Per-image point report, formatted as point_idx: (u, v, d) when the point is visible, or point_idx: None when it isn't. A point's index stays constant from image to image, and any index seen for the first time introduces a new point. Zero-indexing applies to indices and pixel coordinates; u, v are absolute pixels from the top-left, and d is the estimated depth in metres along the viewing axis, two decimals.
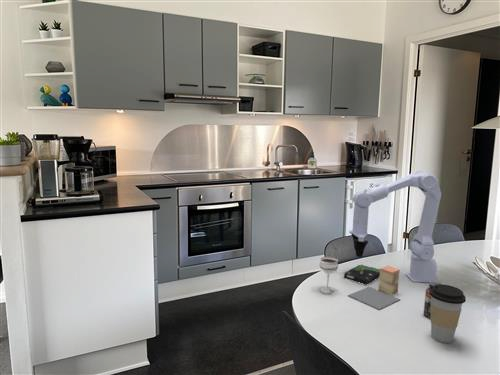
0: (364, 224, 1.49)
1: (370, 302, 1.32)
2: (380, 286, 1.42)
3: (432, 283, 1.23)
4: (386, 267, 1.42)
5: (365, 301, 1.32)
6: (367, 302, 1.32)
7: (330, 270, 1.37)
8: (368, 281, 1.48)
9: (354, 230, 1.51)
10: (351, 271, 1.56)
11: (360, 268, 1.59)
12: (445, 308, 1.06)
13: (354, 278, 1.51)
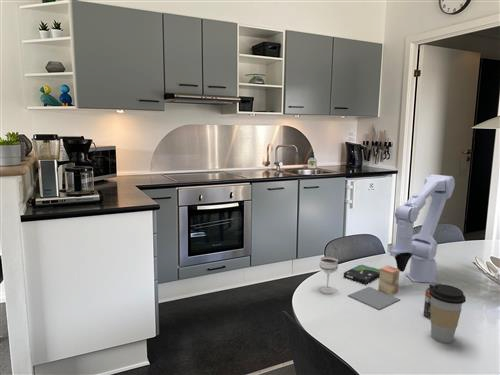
0: (403, 240, 1.41)
1: (370, 302, 1.32)
2: (380, 286, 1.42)
3: (432, 283, 1.23)
4: (386, 267, 1.42)
5: (365, 301, 1.32)
6: (367, 302, 1.32)
7: (330, 270, 1.37)
8: (367, 281, 1.48)
9: (395, 244, 1.45)
10: (351, 271, 1.57)
11: (361, 268, 1.59)
12: (445, 308, 1.06)
13: (353, 278, 1.51)
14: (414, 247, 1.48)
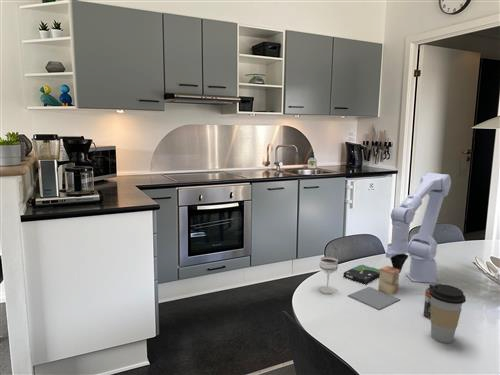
0: (399, 241, 1.40)
1: (370, 302, 1.32)
2: (380, 286, 1.42)
3: (432, 283, 1.23)
4: (386, 267, 1.42)
5: (365, 301, 1.32)
6: (367, 302, 1.32)
7: (330, 270, 1.37)
8: (367, 281, 1.48)
9: (391, 246, 1.43)
10: (351, 271, 1.57)
11: (361, 268, 1.59)
12: (445, 308, 1.06)
13: (353, 278, 1.51)
14: (410, 248, 1.46)
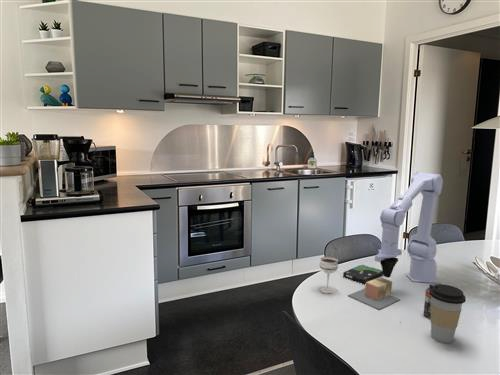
0: (389, 244, 1.35)
1: (370, 302, 1.32)
2: None
3: (432, 283, 1.23)
4: (367, 289, 1.36)
5: (365, 301, 1.32)
6: (367, 302, 1.32)
7: (330, 270, 1.37)
8: (366, 281, 1.48)
9: (381, 249, 1.39)
10: (351, 271, 1.57)
11: (361, 268, 1.59)
12: (445, 308, 1.06)
13: (352, 277, 1.51)
14: (401, 252, 1.42)
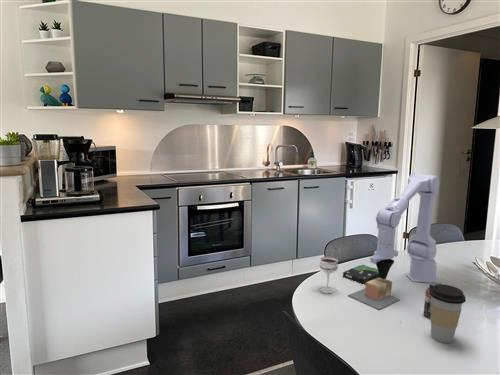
0: (385, 246, 1.34)
1: (370, 302, 1.32)
2: None
3: (432, 283, 1.23)
4: (367, 289, 1.36)
5: (365, 301, 1.32)
6: (367, 302, 1.32)
7: (330, 270, 1.37)
8: (366, 281, 1.48)
9: (376, 251, 1.37)
10: (351, 271, 1.57)
11: (361, 268, 1.59)
12: (445, 308, 1.06)
13: (352, 277, 1.51)
14: (397, 253, 1.40)
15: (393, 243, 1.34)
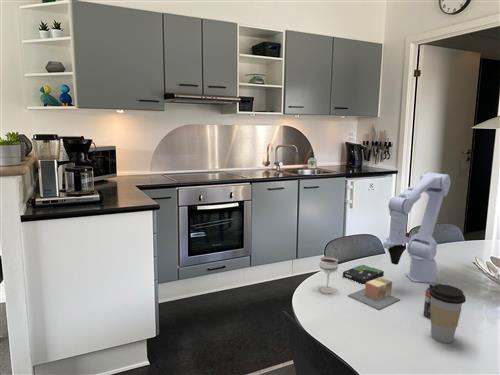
0: (397, 232, 1.38)
1: (370, 302, 1.32)
2: None
3: (432, 283, 1.23)
4: (367, 289, 1.36)
5: (365, 301, 1.32)
6: (367, 302, 1.32)
7: (330, 270, 1.37)
8: (365, 281, 1.48)
9: (389, 237, 1.41)
10: (351, 271, 1.57)
11: (361, 268, 1.59)
12: (445, 308, 1.06)
13: (352, 277, 1.52)
14: (408, 239, 1.44)
15: (405, 229, 1.38)
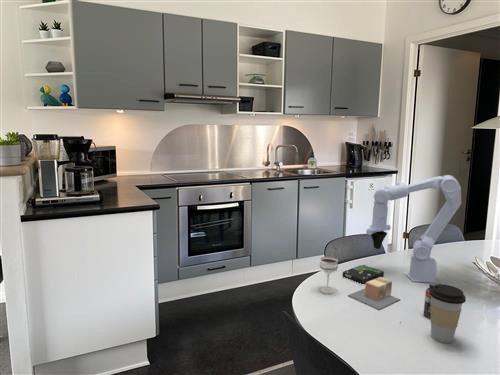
0: (379, 220, 1.56)
1: (370, 302, 1.32)
2: None
3: (432, 283, 1.23)
4: (367, 289, 1.36)
5: (365, 301, 1.32)
6: (367, 302, 1.32)
7: (330, 270, 1.37)
8: (365, 281, 1.48)
9: (372, 224, 1.59)
10: (350, 270, 1.57)
11: (361, 268, 1.59)
12: (445, 308, 1.06)
13: (351, 277, 1.52)
14: (389, 227, 1.62)
15: (380, 217, 1.55)
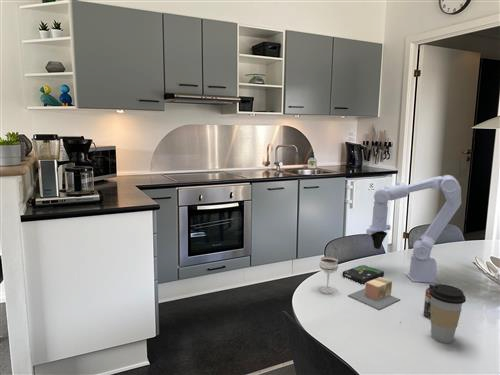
0: (379, 220, 1.56)
1: (370, 302, 1.32)
2: None
3: (432, 283, 1.23)
4: (367, 289, 1.36)
5: (365, 301, 1.32)
6: (367, 302, 1.32)
7: (330, 270, 1.37)
8: (364, 281, 1.48)
9: (372, 224, 1.59)
10: (350, 270, 1.57)
11: (361, 268, 1.59)
12: (445, 308, 1.06)
13: (351, 277, 1.52)
14: (389, 227, 1.62)
15: (380, 217, 1.55)
